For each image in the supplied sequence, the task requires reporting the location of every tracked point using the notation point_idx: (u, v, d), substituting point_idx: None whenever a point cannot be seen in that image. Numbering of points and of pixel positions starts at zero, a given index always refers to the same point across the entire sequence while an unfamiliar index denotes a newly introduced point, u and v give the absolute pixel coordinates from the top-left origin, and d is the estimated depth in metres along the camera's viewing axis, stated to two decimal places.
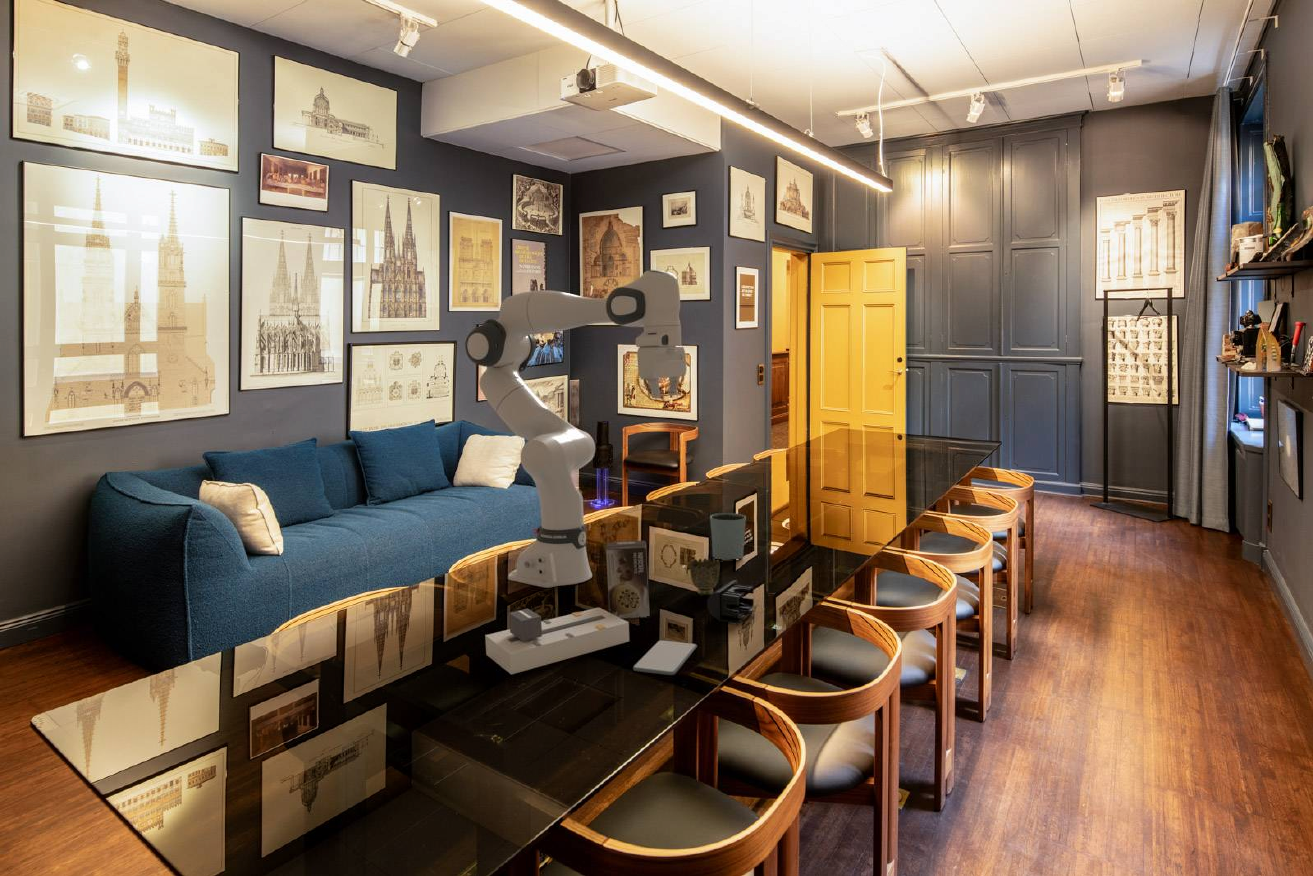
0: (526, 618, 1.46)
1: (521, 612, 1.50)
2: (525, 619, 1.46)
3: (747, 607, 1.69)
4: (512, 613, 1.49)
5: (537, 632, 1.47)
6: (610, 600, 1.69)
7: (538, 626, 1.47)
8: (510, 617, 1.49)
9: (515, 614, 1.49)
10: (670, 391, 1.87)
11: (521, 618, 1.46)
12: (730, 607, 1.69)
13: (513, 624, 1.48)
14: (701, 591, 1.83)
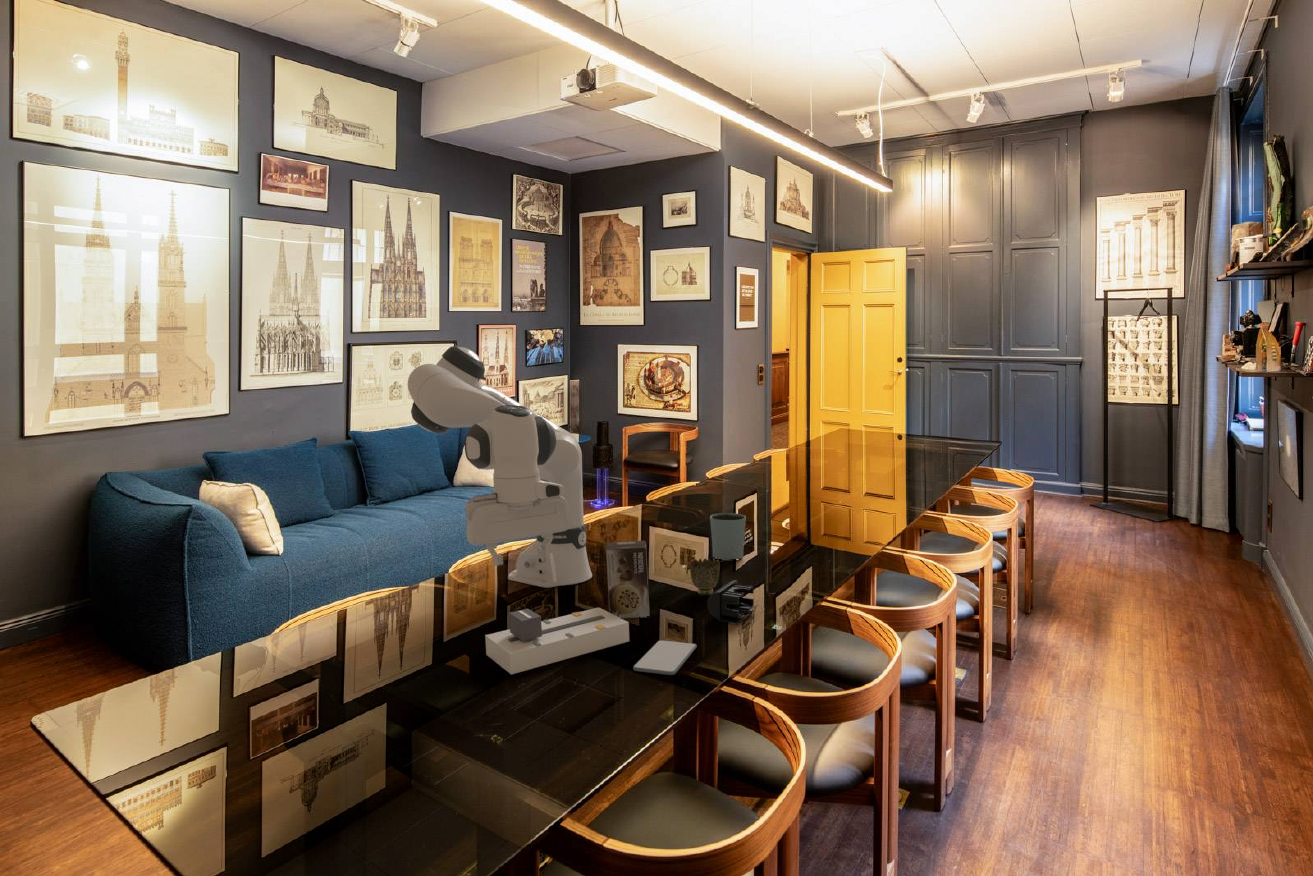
0: (526, 618, 1.46)
1: (521, 612, 1.50)
2: (525, 619, 1.46)
3: (747, 607, 1.69)
4: (512, 613, 1.49)
5: (537, 632, 1.47)
6: (610, 600, 1.69)
7: (538, 626, 1.47)
8: (510, 617, 1.49)
9: (515, 614, 1.49)
10: None
11: (521, 618, 1.46)
12: (730, 607, 1.69)
13: (513, 624, 1.48)
14: (701, 591, 1.83)
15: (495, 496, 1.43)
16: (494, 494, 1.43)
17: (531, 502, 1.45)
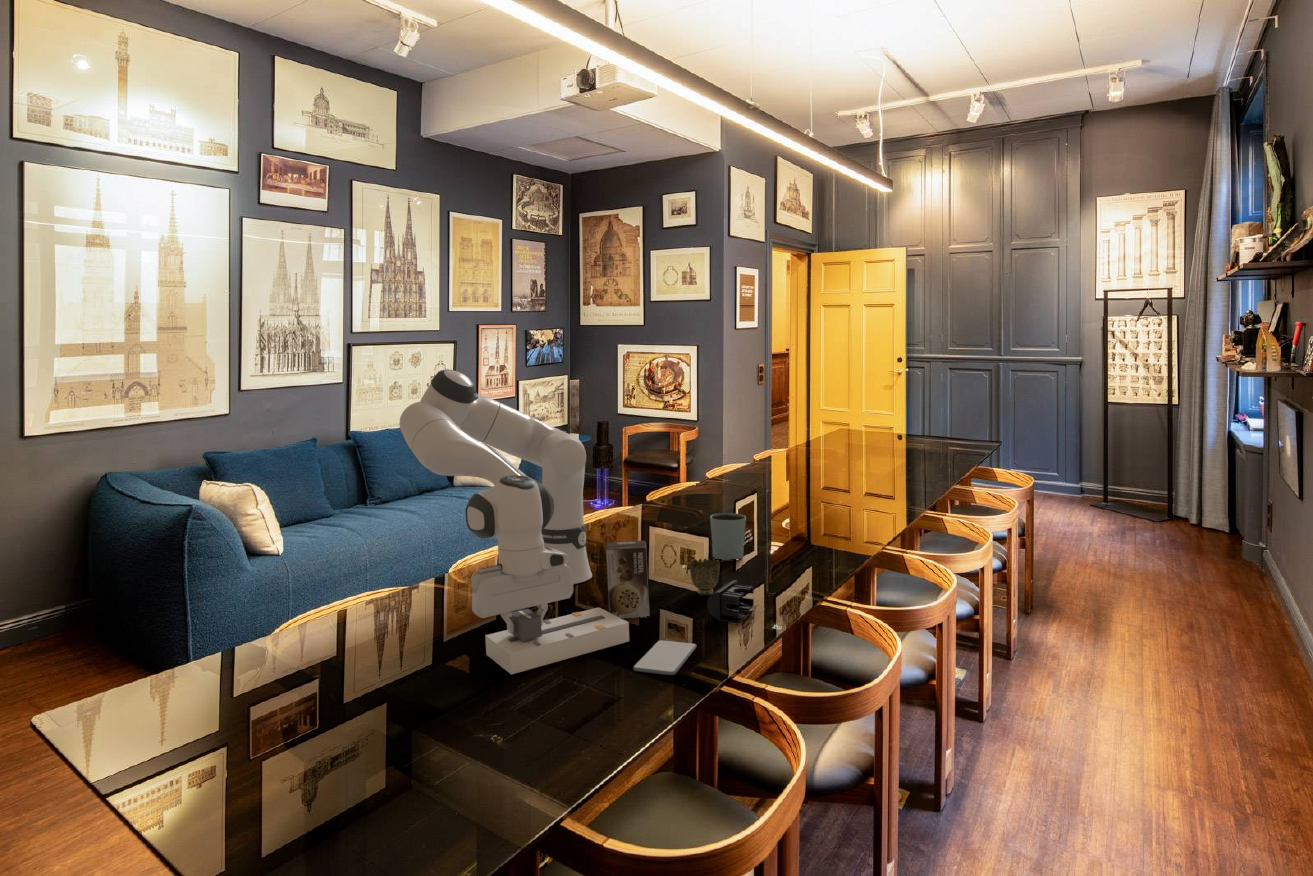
0: (526, 618, 1.46)
1: (521, 612, 1.50)
2: (525, 619, 1.46)
3: (747, 607, 1.69)
4: (512, 613, 1.49)
5: (537, 632, 1.47)
6: (610, 600, 1.69)
7: (538, 626, 1.47)
8: (510, 617, 1.49)
9: (515, 614, 1.49)
10: None
11: (520, 618, 1.46)
12: (730, 607, 1.69)
13: None
14: (701, 591, 1.83)
15: (500, 567, 1.44)
16: (499, 565, 1.44)
17: (536, 572, 1.46)
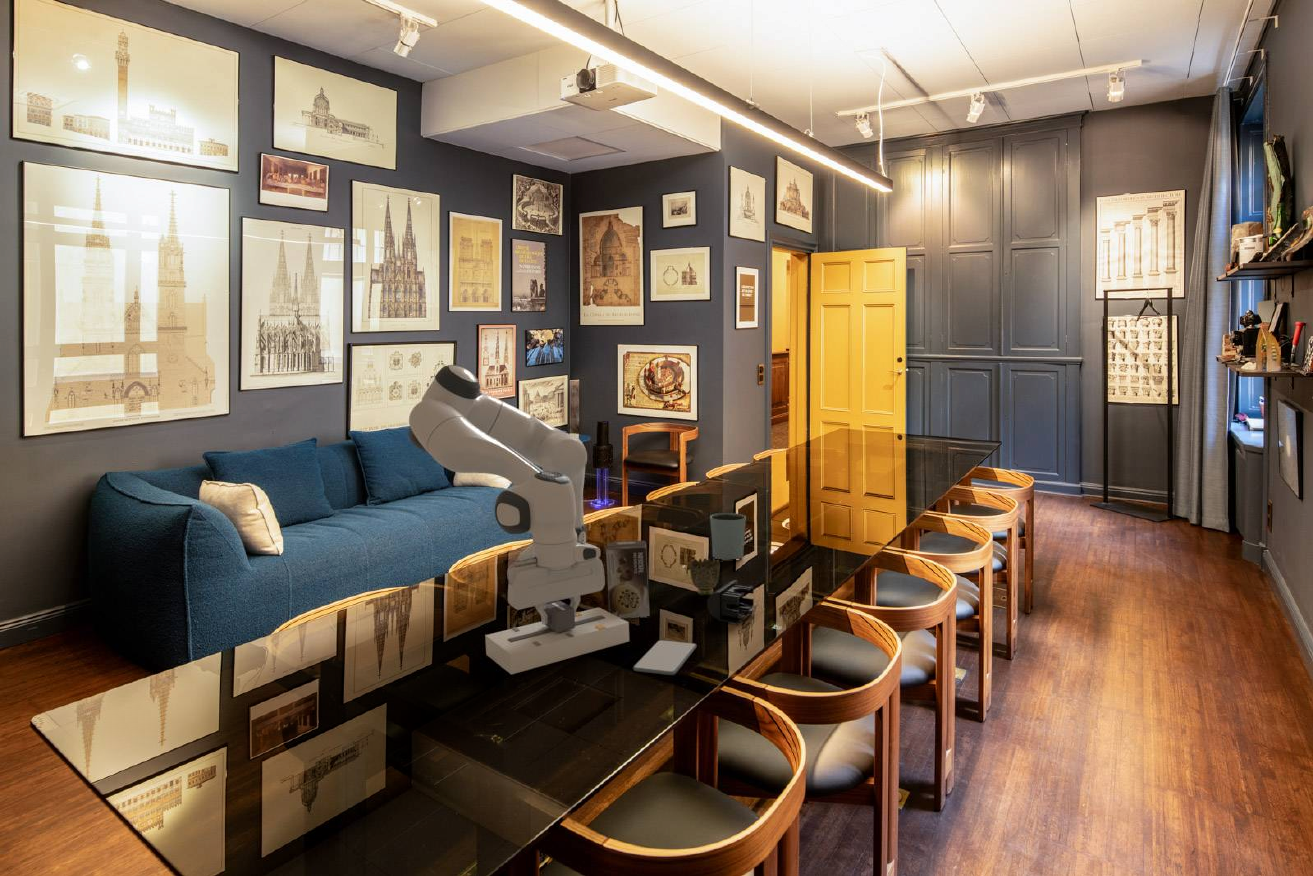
0: (560, 610, 1.50)
1: (554, 604, 1.54)
2: (559, 611, 1.50)
3: (747, 607, 1.69)
4: None
5: (570, 624, 1.51)
6: (610, 600, 1.69)
7: (571, 618, 1.51)
8: (544, 609, 1.53)
9: (549, 606, 1.53)
10: None
11: (554, 610, 1.50)
12: (730, 607, 1.69)
13: None
14: (701, 591, 1.83)
15: (535, 560, 1.48)
16: (534, 558, 1.48)
17: (569, 565, 1.50)
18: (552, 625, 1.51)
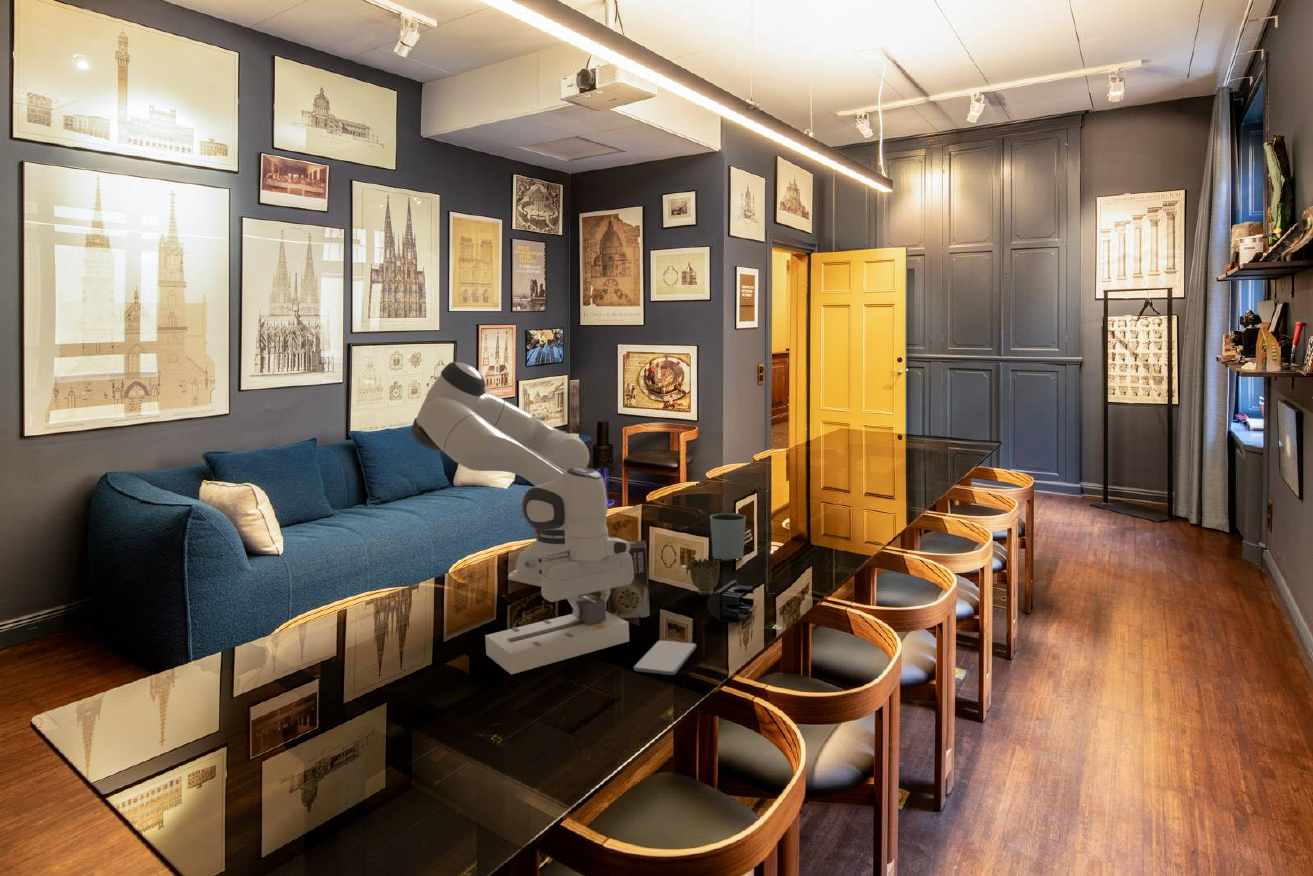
0: (591, 602, 1.54)
1: (585, 597, 1.58)
2: (590, 603, 1.54)
3: (747, 607, 1.69)
4: None
5: (601, 616, 1.55)
6: (610, 600, 1.69)
7: (602, 610, 1.55)
8: None
9: (580, 599, 1.57)
10: None
11: (586, 602, 1.54)
12: (730, 607, 1.69)
13: None
14: (701, 591, 1.83)
15: (568, 554, 1.52)
16: (567, 552, 1.52)
17: (600, 559, 1.54)
18: (584, 617, 1.55)
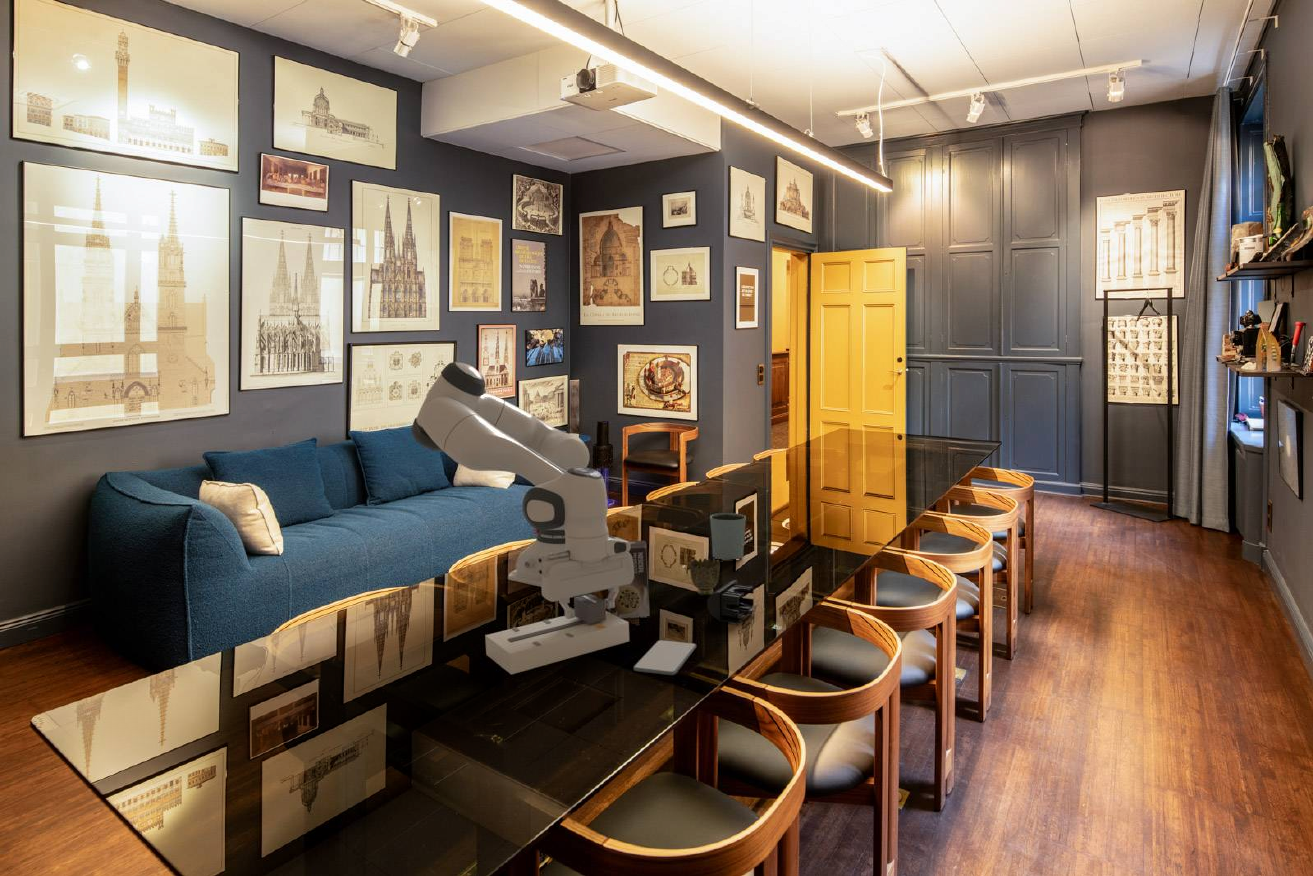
0: (591, 602, 1.54)
1: (585, 597, 1.58)
2: (591, 603, 1.54)
3: (747, 607, 1.69)
4: (577, 598, 1.57)
5: (602, 616, 1.55)
6: None
7: (603, 610, 1.55)
8: (575, 602, 1.58)
9: (580, 599, 1.57)
10: None
11: (586, 602, 1.54)
12: (730, 607, 1.69)
13: (578, 608, 1.57)
14: (701, 591, 1.83)
15: (568, 554, 1.52)
16: (567, 552, 1.52)
17: (601, 559, 1.54)
18: (584, 617, 1.55)
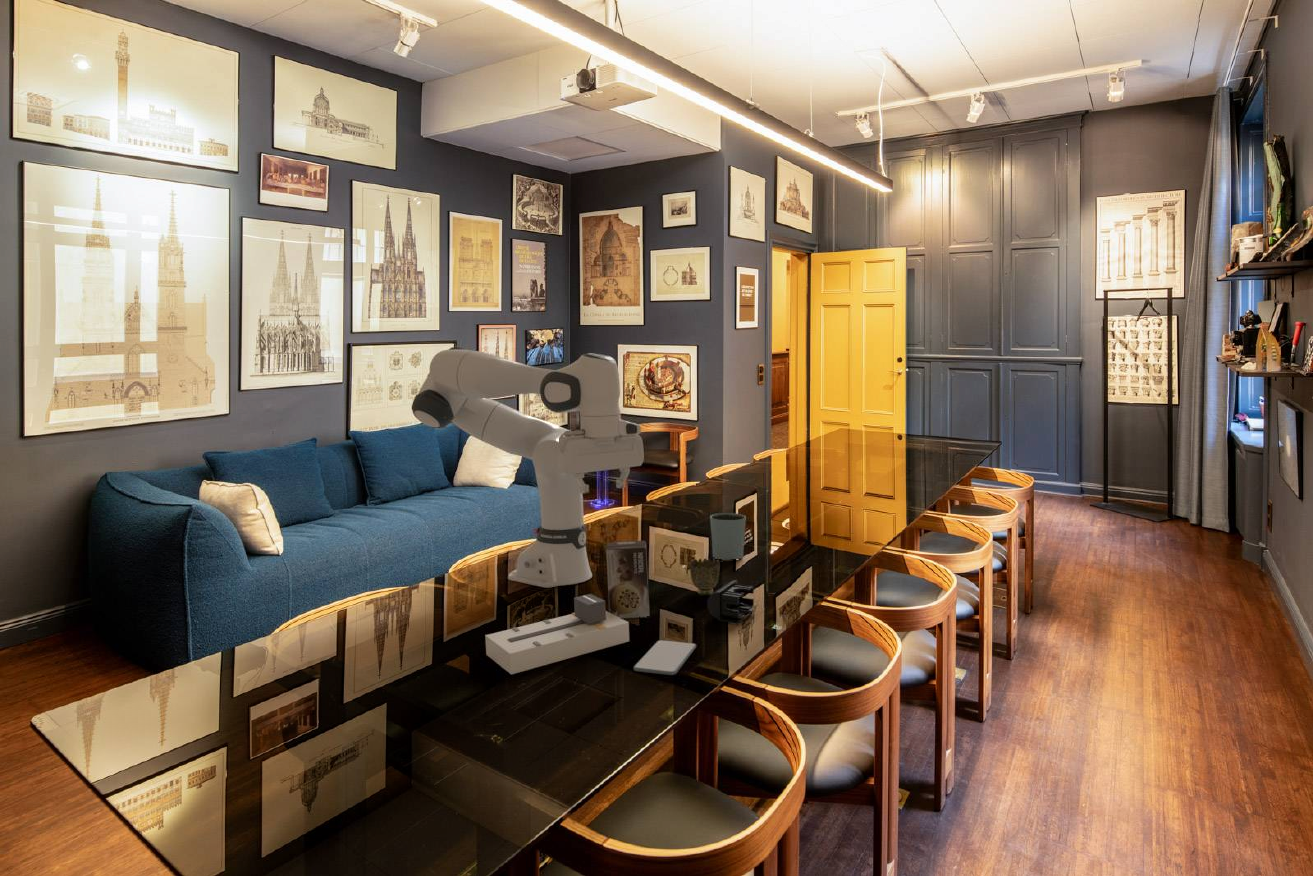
0: (591, 602, 1.54)
1: (585, 597, 1.58)
2: (591, 603, 1.54)
3: (747, 607, 1.69)
4: (577, 598, 1.57)
5: (602, 616, 1.55)
6: (610, 600, 1.69)
7: (603, 610, 1.55)
8: (575, 602, 1.58)
9: (580, 599, 1.57)
10: None
11: (586, 602, 1.54)
12: (730, 607, 1.69)
13: (578, 608, 1.57)
14: (701, 591, 1.83)
15: (583, 432, 1.63)
16: (582, 430, 1.63)
17: (613, 438, 1.65)
18: (584, 617, 1.55)
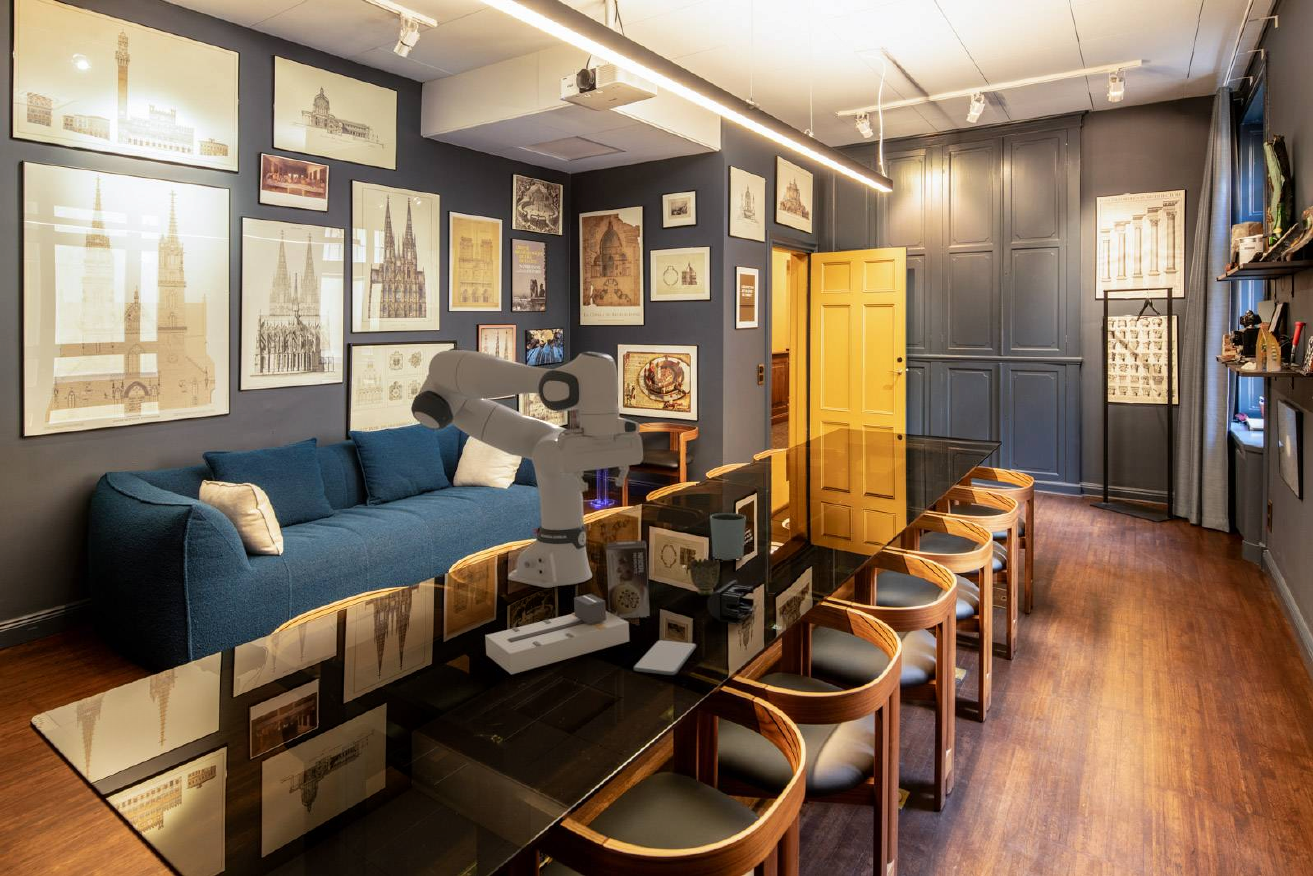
0: (591, 602, 1.54)
1: (585, 597, 1.58)
2: (591, 603, 1.54)
3: (747, 607, 1.69)
4: (577, 598, 1.57)
5: (602, 616, 1.55)
6: (610, 600, 1.69)
7: (603, 610, 1.55)
8: (575, 602, 1.58)
9: (580, 599, 1.57)
10: None
11: (586, 602, 1.54)
12: (730, 607, 1.69)
13: (578, 608, 1.57)
14: (701, 591, 1.83)
15: (582, 430, 1.64)
16: (581, 428, 1.64)
17: (612, 436, 1.65)
18: (584, 617, 1.55)
